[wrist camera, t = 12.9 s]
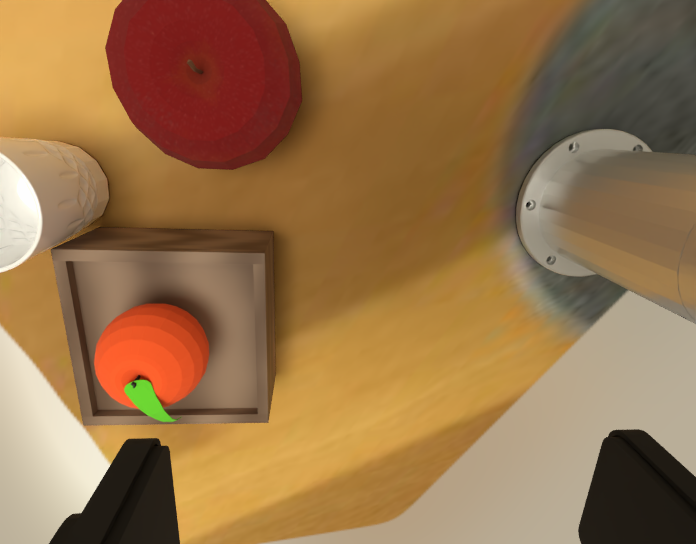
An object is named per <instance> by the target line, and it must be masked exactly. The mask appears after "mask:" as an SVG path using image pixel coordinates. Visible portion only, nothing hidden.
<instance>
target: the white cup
mask: <svg viewBox="0 0 696 544" xmlns="http://www.w3.org/2000/svg"><path fill="white" fill-rule="evenodd" d="M108 200H109V190H108V181H107V178H106V176H105V174H104V173H103V171H102V169H101V167H100V166H99V164H98V162H97V161H96V160H95V159H94V158H92V157H91V156H90V155H89V154H87V153H86V152H85V151H83V150H82V149H81V148H79V147H77V146H74V145H70V144H66V143H63V142H59V141H44V140H37V139H27V138H13V137H0V272H4V271H7V270H10V269H13V268H15V267H17V266H18V265H20V264H22V263H24V262H26V261H28V260H29V259H31V258H33V257H35V256H37V255H39V254H41V253H43V252H44V251H46V250H48V249H50V248H52V247H54V246H56V245H57V244H59V243H61V242H62V241H64V240H66V239H67V238H69V237H71V236H73V235H74V234H76V233H78V232H79V231H81V230H82V229H83V228H85V227H87V226H89V225H90V224H91V223H92V222H94V221H95V220H96V219H98V218H99V217H100V216H102V215H103V213H104V210H105V208H106V205H107V203H108Z"/></svg>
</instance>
